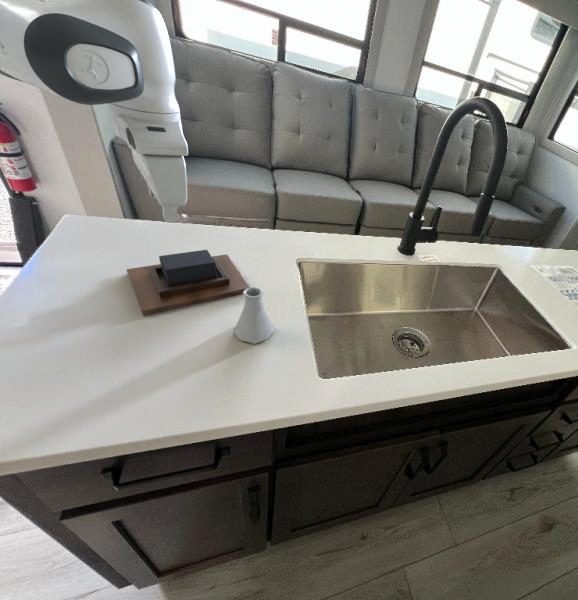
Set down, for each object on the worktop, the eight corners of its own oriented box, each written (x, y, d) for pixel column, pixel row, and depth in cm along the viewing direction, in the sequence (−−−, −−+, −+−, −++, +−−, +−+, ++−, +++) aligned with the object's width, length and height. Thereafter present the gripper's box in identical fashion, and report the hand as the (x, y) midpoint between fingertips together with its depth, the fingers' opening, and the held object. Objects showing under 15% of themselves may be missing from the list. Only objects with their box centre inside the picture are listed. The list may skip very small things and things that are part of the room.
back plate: (143, 315, 62) (139, 304, 61) (127, 273, 70) (124, 263, 69) (250, 291, 75) (250, 282, 73) (227, 258, 83) (226, 248, 81)
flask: (281, 329, 68) (282, 291, 62) (255, 349, 62) (253, 309, 56) (254, 314, 70) (252, 275, 64) (225, 332, 64) (221, 292, 58)
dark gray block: (170, 290, 68) (165, 270, 65) (163, 275, 71) (158, 255, 68) (217, 280, 73) (215, 262, 70) (209, 268, 76) (207, 249, 73)
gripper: (110, 105, 55) (129, 186, 62) (137, 145, 44) (156, 237, 52) (156, 110, 59) (168, 186, 67) (191, 148, 48) (200, 233, 56)
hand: (163, 209), depth 59 cm, fingers open, 8 cm apart
